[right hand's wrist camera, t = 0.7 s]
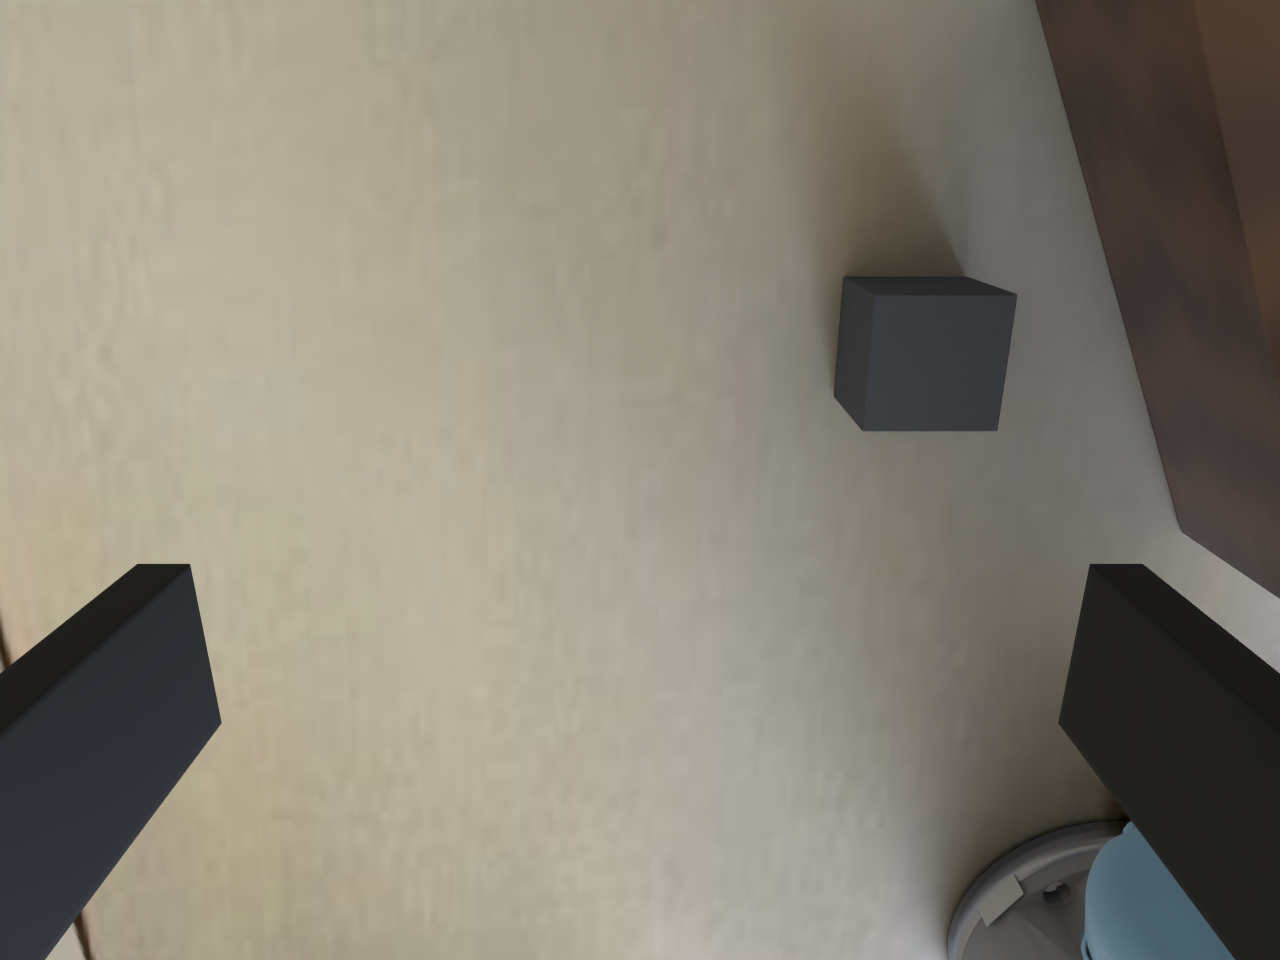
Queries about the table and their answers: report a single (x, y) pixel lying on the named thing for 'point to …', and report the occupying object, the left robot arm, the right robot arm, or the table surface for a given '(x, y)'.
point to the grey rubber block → (923, 353)
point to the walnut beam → (1191, 239)
